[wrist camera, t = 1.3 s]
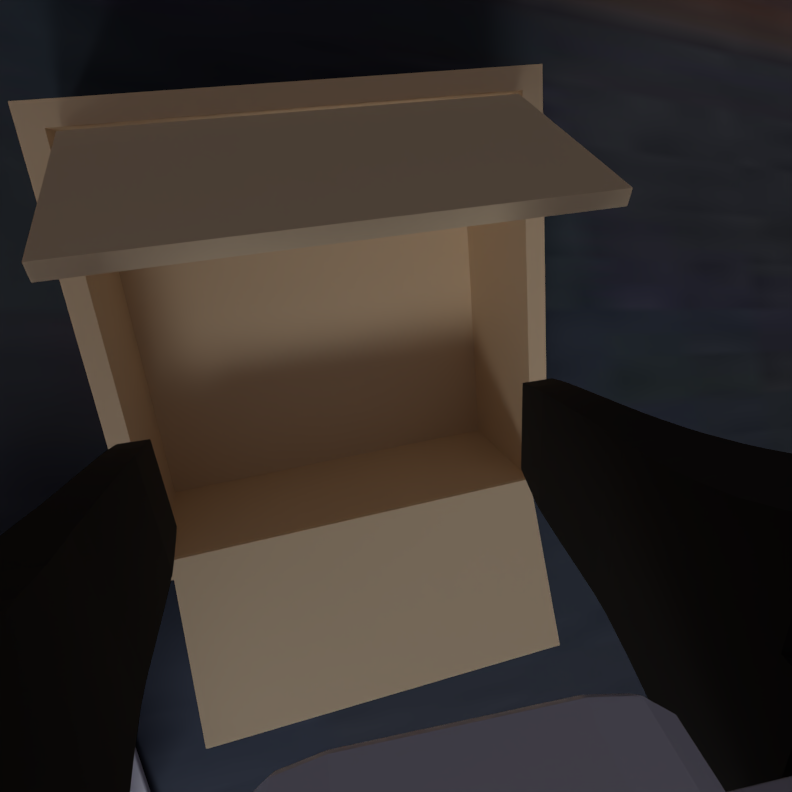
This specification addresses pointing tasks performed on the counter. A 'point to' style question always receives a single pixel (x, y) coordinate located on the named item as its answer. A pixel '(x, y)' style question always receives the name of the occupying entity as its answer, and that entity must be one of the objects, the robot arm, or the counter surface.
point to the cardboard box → (311, 337)
